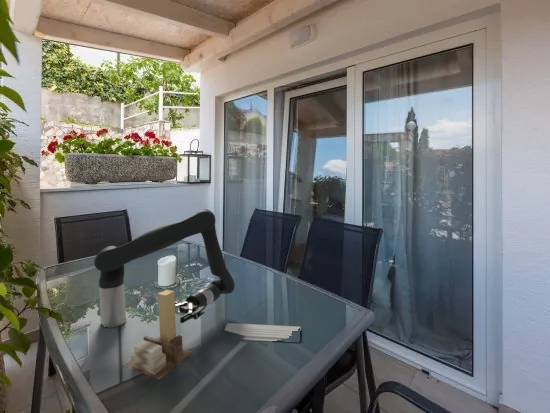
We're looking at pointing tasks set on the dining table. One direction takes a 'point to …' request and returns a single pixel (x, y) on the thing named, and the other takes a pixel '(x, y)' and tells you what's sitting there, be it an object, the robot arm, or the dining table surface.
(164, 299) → the slat
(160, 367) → the offcut low
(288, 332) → the baseboard molding
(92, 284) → the dining table surface
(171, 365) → the rack
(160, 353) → the offcut top
